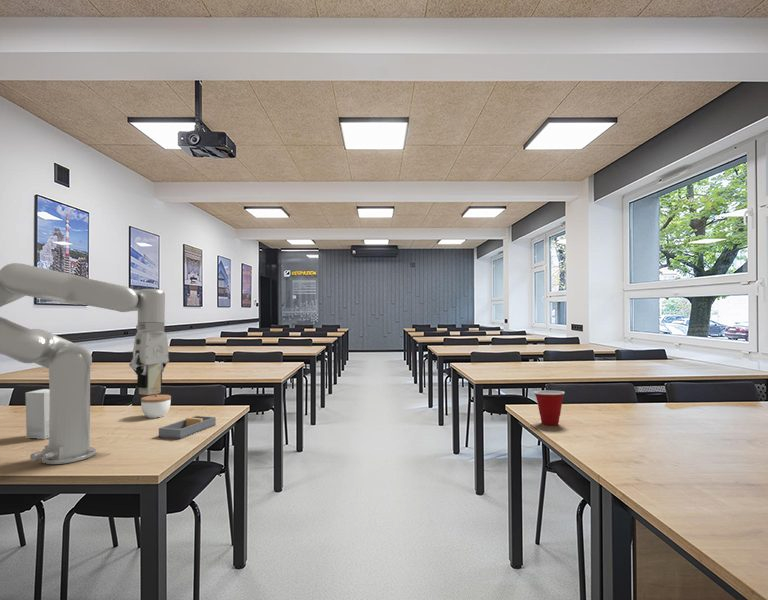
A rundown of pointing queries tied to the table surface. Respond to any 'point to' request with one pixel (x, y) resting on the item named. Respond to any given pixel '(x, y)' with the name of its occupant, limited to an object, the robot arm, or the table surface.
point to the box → (152, 380)
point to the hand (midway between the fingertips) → (149, 385)
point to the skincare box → (37, 414)
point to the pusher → (192, 421)
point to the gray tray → (186, 428)
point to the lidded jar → (155, 405)
